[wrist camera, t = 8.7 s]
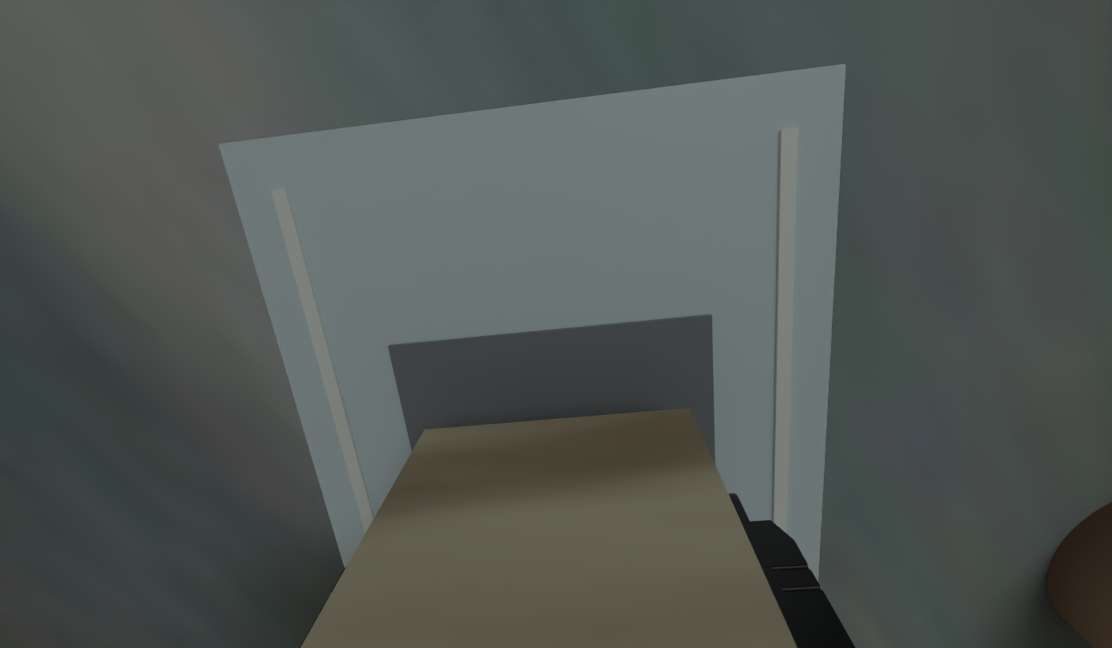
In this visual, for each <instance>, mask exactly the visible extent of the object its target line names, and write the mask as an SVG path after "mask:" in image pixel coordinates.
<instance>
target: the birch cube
mask: <svg viewBox="0 0 1112 648" xmlns="http://www.w3.org/2000/svg"><path fill="white" fill-rule="evenodd" d="M301 648H797V646H796V644H795V641H794V639H793V637H792V635H791V633H790V630H789V628H788V626H787V624H786V621H785V619H784V617H783V615H782V612H781V610H780V608H779V606H778V603H777V601H776V599H775V597H774V595H773V592H772V590H771V588H770V586H769V583H768V581H767V579H766V577H765V574H764V572H763V570H762V568H761V566H760V563H759V561H758V559H757V557H756V554H755V552H754V550H753V548H752V545H751V543H750V541H749V539H748V537H747V534H746V532H745V530H744V528H743V525H742V523H741V521H740V519H739V516H738V514H737V512H736V510H735V508H734V505H733V503H732V501H731V499H730V496H729V494H728V492H727V490H726V487H725V485H724V483H723V481H722V478H721V476H720V474H719V472H718V470H717V467H716V465H715V463H714V461H713V458H712V456H711V454H710V452H709V449H708V447H707V445H706V443H705V441H704V438H703V436H702V434H701V432H700V429H699V427H698V425H697V423H696V420H695V418H694V416H693V414H692V412H691V409H690V408H684V409H671V410H659V411H647V412H634V413H622V414H609V415H597V416H585V417H572V418H560V419H548V420H535V421H523V422H511V423H498V424H486V425H474V426H461V427H449V428H437V429H424V431H423V433H422V435H421V436H420V438H419V440H418V442H417V444H416V445H415V447H414V449H413V451H412V452H411V454H410V456H409V458H408V459H407V461H406V463H405V465H404V466H403V468H402V470H401V472H400V473H399V475H398V477H397V479H396V480H395V482H394V484H393V486H392V488H391V489H390V491H389V493H388V495H387V496H386V498H385V500H384V502H383V503H382V505H381V507H380V509H379V510H378V512H377V514H376V516H375V517H374V519H373V521H372V523H371V524H370V526H369V528H368V530H367V531H366V533H365V535H364V537H363V539H362V540H361V542H360V544H359V546H358V547H357V549H356V551H355V553H354V554H353V556H352V558H351V560H350V561H349V563H348V565H347V567H346V568H345V570H344V572H343V574H342V575H341V577H340V579H339V581H338V583H337V584H336V586H335V588H334V590H333V591H332V593H331V595H330V597H329V598H328V600H327V602H326V604H325V605H324V607H323V609H322V611H321V612H320V614H319V616H318V618H317V619H316V621H315V623H314V625H313V626H312V628H311V630H310V632H309V634H308V635H307V637H306V639H305V641H304V642H303V644H302V646H301Z"/></svg>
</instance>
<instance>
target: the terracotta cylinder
mask: <svg viewBox="0 0 1112 648" xmlns="http://www.w3.org/2000/svg"><path fill="white" fill-rule="evenodd" d="M1047 592H1048V597H1049V600H1050V602H1051V604H1052V607H1053V608H1054V609H1055V611H1056V612H1057V614H1058V615H1059V616H1060V617H1061V618H1062V619H1063V620H1064V621H1065V622H1066V623H1067V624H1069V625H1070V626H1071V627H1072V628H1073V629H1074V630H1075V631H1076V632H1077V633H1078V634H1079V635H1080V636H1081V637H1082V638H1083V639H1084V640H1085V641H1086V642H1087V643H1089V644H1090V645H1091V646H1092V647H1093V648H1112V502H1111V503H1109V504H1107V505H1105V506H1103V507H1102V508H1100V509H1099V510H1097V511H1096V512H1094V513H1092V514H1091V515H1090V516H1088V517H1087V518H1086V519H1084V520H1083V521H1082V522H1081V523H1079V524H1078V525H1077V526H1076V527H1075V528H1074V529H1073V530H1072V531H1071V532H1070V533H1069V534H1068V535H1067V537H1066V538H1065V539H1064V540H1063V541H1062V543H1061V544H1060V546H1059V547H1058V549H1057V550H1056V552H1055V554H1054V556H1053V558H1052V560H1051V563H1050V566H1049V570H1048V575H1047Z"/></svg>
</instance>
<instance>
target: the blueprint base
mask: <svg viewBox="0 0 1112 648" xmlns="http://www.w3.org/2000/svg"><path fill="white" fill-rule="evenodd" d="M845 70H846V64H841V65H833V66H826V67H818V68H810V69H802V70H794V71H786V72H779V73H771V74H763V75H755V76H747V77H739V78H732V79H724V80H716V81H708V82H700V83H692V84H685V85H677V86H669V87H661V88H653V89H645V90H638V91H630V92H622V93H614V94H606V95H598V96H591V97H583V98H575V99H567V100H559V101H551V102H544V103H536V104H528V105H520V106H512V107H504V108H497V109H489V110H481V111H473V112H465V113H457V114H450V115H442V116H434V117H426V118H418V119H410V120H402V121H395V122H387V123H379V124H371V125H363V126H355V127H348V128H340V129H332V130H324V131H316V132H308V133H301V134H293V135H285V136H277V137H269V138H261V139H254V140H246V141H238V142H230V143H222V144H219V148H220V151H221V154H222V158H223V161H224V164H225V168H226V171H227V175H228V178H229V181H230V185H231V188H232V191H233V195H234V198H235V201H236V205H237V208H238V211H239V215H240V218H241V222H242V225H243V228H244V232H245V235H246V238H247V242H248V245H249V248H250V252H251V255H252V259H253V262H254V265H255V269H256V272H257V275H258V279H259V282H260V285H261V289H262V292H263V295H264V299H265V302H266V306H267V309H268V312H269V316H270V319H271V322H272V326H273V329H274V332H275V336H276V339H277V343H278V346H279V349H280V353H281V356H282V359H283V363H284V366H285V369H286V373H287V376H288V380H289V383H290V386H291V390H292V393H293V396H294V400H295V403H296V406H297V410H298V413H299V416H300V420H301V423H302V427H303V430H304V433H305V437H306V440H307V443H308V447H309V450H310V453H311V457H312V460H313V464H314V467H315V470H316V474H317V477H318V480H319V484H320V487H321V490H322V494H323V497H324V500H325V504H326V507H327V511H328V514H329V517H330V521H331V524H332V527H333V531H334V534H335V537H336V541H337V544H338V548H339V551H340V554H341V558H342V561H343V564H344V568H345V567H346V566H347V565H348V563H349V561H350V560H351V558H352V556H353V554H354V553H355V551H356V549H357V547H358V546H359V544H360V542H361V540H362V539H363V537H364V535H365V533H366V531H367V530H368V528H369V526H370V524H371V523H372V521H373V519H374V517H375V516H376V514H377V512H378V510H379V509H380V507H381V505H382V503H383V502H384V500H385V498H386V496H387V495H388V493H389V491H390V489H391V488H392V486H393V484H394V482H395V480H396V479H397V477H398V475H399V473H400V472H401V470H402V468H403V466H404V465H405V463H406V461H407V459H408V458H409V456H410V454H411V452H412V451H413V449H414V447H415V445H416V444H417V442H418V440H419V438H420V436H421V435H422V433H423V431H424V429H437V428H449V427H461V426H474V425H486V424H498V423H511V422H523V421H535V420H548V419H560V418H572V417H585V416H597V415H609V414H622V413H634V412H647V411H659V410H671V409H684V408H690V409H691V412H692V414H693V416H694V418H695V420H696V423H697V425H698V427H699V429H700V432H701V434H702V436H703V438H704V441H705V443H706V445H707V447H708V449H709V452H710V454H711V456H712V458H713V461H714V463H715V465H716V467H717V470H718V472H719V474H720V476H721V478H722V481H723V483H724V485H725V487H726V490H727V492H728V493H735V494H737V496H738V497H739V499H740V501H741V504H742V506H743V508H744V510H745V512H746V514H747V516H748V518H749V520H750V521H763V520H771V521H772V522H774V523H775V524H776V525H777V526H778V527H780V528H781V529H782V530H783V531H784V532H786V533H787V534H788V535H789V536H790V537H791V538H793V539H794V541H795V542H796V544H797V546H798V548H799V549H800V551H801V553H802V555H803V556H804V558H805V560H806V562H807V563H808V568H809V569H811V571H812V572H813V574H814V576H815V578H816V579H817V581H818V574H819V555H820V537H821V518H822V499H823V481H824V462H825V443H826V425H827V406H828V387H829V369H830V350H831V331H832V313H833V294H834V275H835V257H836V238H837V219H838V201H839V182H840V163H841V145H842V126H843V107H844V89H845Z"/></svg>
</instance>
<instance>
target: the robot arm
mask: <svg viewBox="0 0 1112 648" xmlns="http://www.w3.org/2000/svg"><path fill="white" fill-rule="evenodd" d="M728 494H729V496H730V499H731V501H732V503H733V505H734V508H735V510H736V512H737V514H738V516H739V519H740V521H741V523H742V525H743V528H744V530H745V532H746V534H747V537H748V539H749V541H750V543H751V545H752V548H753V550H754V552H755V554H756V557H757V559H758V561H759V563H760V566H761V568H762V570H763V572H764V574H765V577H766V579H767V581H768V583H769V586H770V588H771V590H772V592H773V595H774V597H775V599H776V601H777V603H778V606H779V608H780V610H781V612H782V615H783V617H784V619H785V621H786V624H787V626H788V628H789V630H790V633H791V635H792V637H793V639H794V641H795V644H796V646H797V648H855V646H854V645H853V643H852V641H851V639H850V638H849V636H848V634H847V632H846V631H845V629H844V627H843V625H842V623H841V622H840V620H839V618H838V616H837V615H836V613H835V611H834V609H833V608H832V606H831V604H830V602H829V601H828V599H827V597H826V595H825V593H824V592H823V590H822V591H821V589H820V585H819V583H818V581H817V579H816V578H815V576H814V574H813V572H812V571H811V569H809V568H808V563H807V562H806V560H805V558H804V556H803V555H802V553H801V551H800V549H799V548H798V546H797V544H796V542H795V541H794V539H793V538H791V537H790V536H789V535H788V534H787V533H786V532H784V531H783V530H782V529H781V528H780V527H778V526H777V525H776V524H775V523H774V522H772V521H771V520H763V521H750V520H749V518H748V516H747V514H746V512H745V510H744V508H743V506H742V504H741V501H740V499H739V497H738V496H737V494H735V493H728ZM346 567H347V566H346ZM346 567H345V568H346ZM344 570H345V569H344ZM343 572H344V571H343ZM343 572H342V574H343ZM342 574H341V575H342ZM340 577H341V576H340ZM339 579H340V578H339ZM339 579H338V581H339ZM338 581H337V583H338ZM337 583H336V584H337ZM335 586H336V585H335ZM335 586H334V588H335ZM334 588H333V590H334ZM333 590H332V591H333ZM328 598H329V597H328ZM327 600H328V599H327ZM327 600H326V602H327ZM326 602H325V604H326ZM325 604H324V605H325ZM323 607H324V606H323ZM323 607H322V609H323ZM322 609H321V611H322ZM321 611H320V612H321ZM316 619H317V618H316ZM315 621H316V620H315ZM315 621H314V623H315ZM314 623H313V625H314ZM313 625H312V626H313ZM311 628H312V627H311ZM310 630H311V629H310ZM310 630H309V632H310ZM309 632H308V634H309ZM308 634H307V635H308ZM306 637H307V636H306ZM306 637H305V639H306ZM305 639H304V641H305ZM304 641H303V642H304ZM302 644H303V643H302ZM302 644H301V646H302ZM301 646H300V648H301Z"/></svg>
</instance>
